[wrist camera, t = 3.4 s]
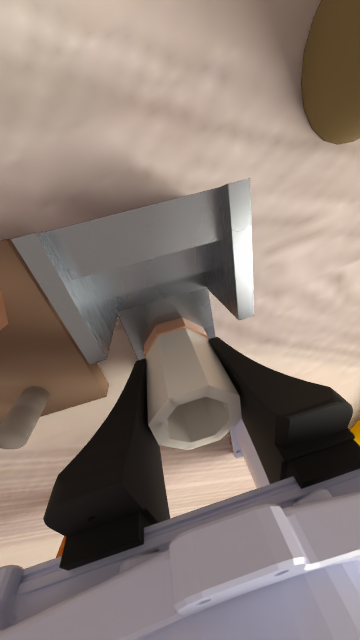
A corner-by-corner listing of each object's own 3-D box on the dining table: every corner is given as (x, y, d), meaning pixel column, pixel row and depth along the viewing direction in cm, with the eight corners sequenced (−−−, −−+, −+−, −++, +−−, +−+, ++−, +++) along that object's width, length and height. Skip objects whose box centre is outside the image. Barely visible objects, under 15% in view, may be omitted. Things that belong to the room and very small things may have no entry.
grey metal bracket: (218, 355, 16) (257, 423, 10) (146, 377, 15) (148, 459, 10) (193, 200, 10) (249, 177, 5) (80, 229, 10) (10, 239, 5)
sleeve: (208, 359, 15) (245, 432, 10) (156, 375, 15) (164, 459, 10) (200, 312, 13) (239, 374, 8) (137, 330, 13) (135, 406, 7)
